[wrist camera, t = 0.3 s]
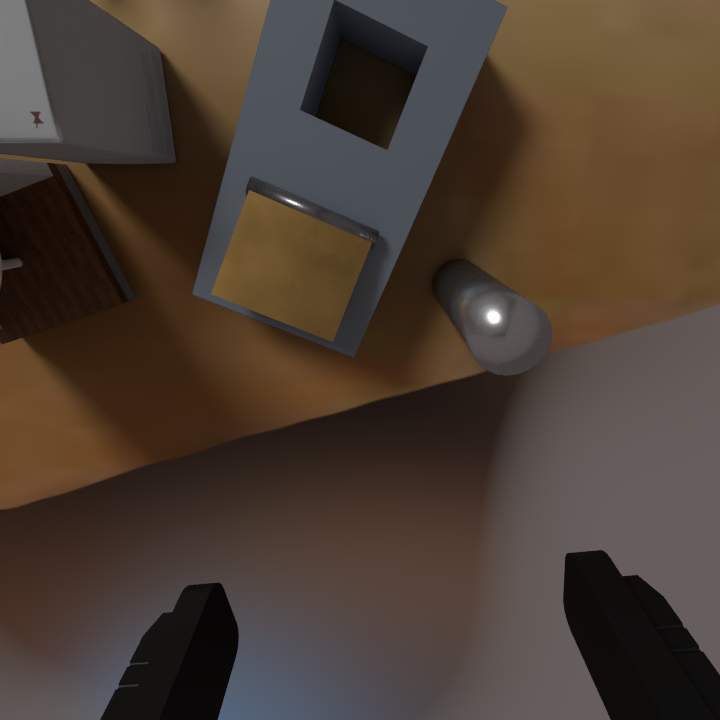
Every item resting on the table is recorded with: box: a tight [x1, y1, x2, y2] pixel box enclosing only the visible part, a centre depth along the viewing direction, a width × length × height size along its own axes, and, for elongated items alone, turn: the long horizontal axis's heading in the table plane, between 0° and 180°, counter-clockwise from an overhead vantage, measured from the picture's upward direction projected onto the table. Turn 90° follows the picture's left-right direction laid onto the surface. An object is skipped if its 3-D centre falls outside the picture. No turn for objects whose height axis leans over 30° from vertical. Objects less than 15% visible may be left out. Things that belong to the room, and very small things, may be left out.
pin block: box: [192, 0, 508, 358], centre depth 28 cm, size 22×12×6 cm, turn 158°
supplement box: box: [0, 0, 176, 164], centre depth 24 cm, size 7×7×13 cm
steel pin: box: [432, 259, 552, 375], centre depth 27 cm, size 4×4×14 cm
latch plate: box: [211, 176, 380, 342], centre depth 26 cm, size 8×8×1 cm
